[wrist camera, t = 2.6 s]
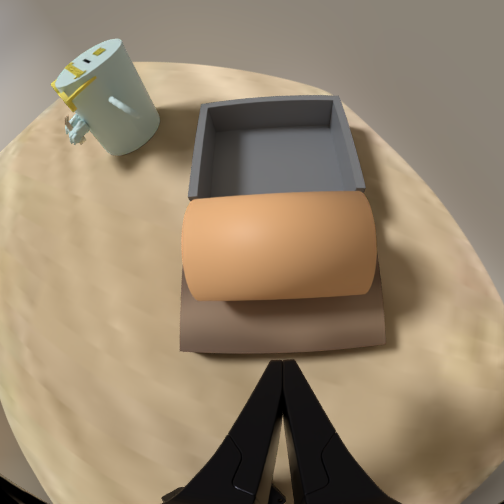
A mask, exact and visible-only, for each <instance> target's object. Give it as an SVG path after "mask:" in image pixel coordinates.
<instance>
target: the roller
mask: <svg viewBox="0 0 504 504" xmlns="http://www.w3.org/2000/svg"><path fill="white" fill-rule="evenodd" d="M376 257H377V241H376V229H375V223H374V218H373V213H372V210H371V207H370V204H369V202H368V200H367V198H366V196H365V195H364V194H363V192H361V191H319V192H291V193H271V194H254V195H239V196H226V197H214V198H203V199H194V200H192V201H191V202H190V203H189V205H188V207H187V209H186V212H185V215H184V220H183V227H182V261H183V268H184V273H185V278H186V282H187V285H188V288H189V290H190V292H191V294H192V296H193V297H194V298H195V299H196V300H197V301H244V300H277V299H300V298H319V297H335V296H349V295H362V294H366V293H367V292H368V291H369V289H370V287H371V285H372V282H373V278H374V274H375V268H376Z"/></svg>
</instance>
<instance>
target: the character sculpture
mask: <svg viewBox="0 0 504 504" xmlns="http://www.w3.org/2000/svg"><path fill="white" fill-rule="evenodd" d="M51 86H52V87H53V89H54V90H55V91H56V92H57V94H58V95H59V96H60V98H61V99H63V101H64V102H65V104H66V105H67V106H68V107H69V108H70V109H71V111H72V112H75V113H76V114H75V115H74V116H73V117H72V119H70V121H68V117H69V115H67V116H66V117H65V125H66V126H65V129H66V134H68V133H69V138H70V142H71V144H72V143H74V145H76V143H80V144H81V145H82V144H83V143H84V142H85V141H86V138H85V137H84V135H85V134H86V133H87V132H88V131H89V130H90V132H91V133H92V134H93V135H94V136H95V138H96V139H97V140H98V141H99V143H100V144H101V145H102V146H103V148H104V149H105V150H106V151H107V152H108V153H110V154H111V155H117V156H120V155H124V154H128V153H130V152H132V151H135V150H137V149H138V148H140V147H141V146H142V145H144V144H145V143H146V142H147V141H148V140H149V139H150V138H151V137H152V136H153V135H154V133H155V132H156V130H157V129H158V126H159V123H160V117H159V114H158V112H157V110H156V108H155V106H154V104H153V102H152V100H151V98H150V96H149V94H148V92H147V90H146V88H145V86H144V85H143V83H142V81H141V79H140V77H139V75H138V73H137V71H136V69H135V67H134V65H133V63H132V61H131V59H130V57H129V55H128V53H127V51H126V49H125V47H124V45H123V43H122V41H121V40H120V39H112V40H108V41H105V42H102V43H100V44H98V45H96V46H94V47H92V48H90V49H89V50H87V51H86V52H84V53H83V54H81V55H80V56H78V57H77V58H76V59H75V60H73V61H72V62H71V63H70V64H68V65H67V66H66V67H65V69H64V70H63V71H62V72H61V74H60V75H59V76H58V78H57V79H56V80H55V81H54V82H52V84H51Z"/></svg>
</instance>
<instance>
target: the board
mask: <svg viewBox="0 0 504 504" xmlns="http://www.w3.org/2000/svg"><path fill="white" fill-rule="evenodd" d="M382 344H386V337H385V320H384V307H383V296H382V287H381V278H380V270H379V262H378V255H377V257H376V268H375V274H374V278H373V282H372V285H371V287H370V289H369V291H368V292H367V293H366V294H362V295H349V296H335V297H319V298H300V299H277V300H244V301H197V300H196V299H195V298H194V297H193V296H192V294H191V292H190V290H189V288H188V285H187V282H186V278H185V273H184V268H183V269H182V287H181V311H180V351H183V352H202V353H292V352H311V351H325V350H338V349H348V348H358V347H367V346H375V345H382Z"/></svg>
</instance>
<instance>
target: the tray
mask: <svg viewBox="0 0 504 504" xmlns="http://www.w3.org/2000/svg"><path fill="white" fill-rule="evenodd" d="M365 188H366V187H365V183H364V179H363V175H362V171H361V167H360V163H359V159H358V155H357V152H356V148H355V145H354V141H353V138H352V134H351V131H350V128H349V125H348V121H347V118H346V115H345V112H344V109H343V106H342V103H341V100H340V98H339V96H328V95H298V96H273V97H258V98H246V99H237V100H228V101H220V102H213V103H206V104H201V108H200V114H199V120H198V126H197V132H196V139H195V145H194V152H193V159H192V167H191V175H190V183H189V191H188V198H189V200H190V201H192V200H194V199H203V198H214V197H226V196H239V195H254V194H271V193H291V192H319V191H361V192H363V193H364V190H365Z"/></svg>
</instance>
